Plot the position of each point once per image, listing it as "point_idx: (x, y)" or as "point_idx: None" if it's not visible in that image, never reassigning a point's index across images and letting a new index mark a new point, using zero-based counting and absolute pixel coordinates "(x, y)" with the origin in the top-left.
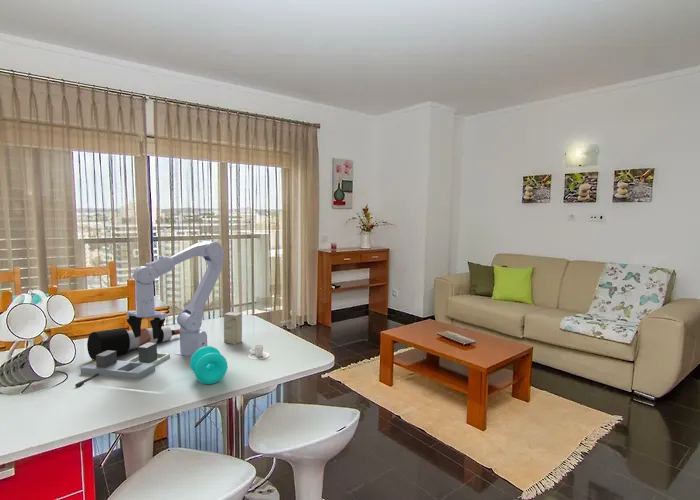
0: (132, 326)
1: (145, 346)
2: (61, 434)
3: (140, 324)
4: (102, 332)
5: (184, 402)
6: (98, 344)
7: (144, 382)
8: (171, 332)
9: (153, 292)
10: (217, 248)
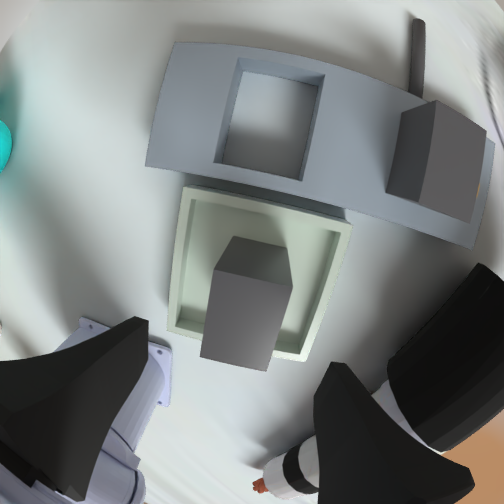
0: (387, 437)
1: (241, 298)
2: None
3: (321, 483)
4: None
5: (31, 10)
6: None
7: (155, 49)
8: (264, 479)
9: None
10: None
